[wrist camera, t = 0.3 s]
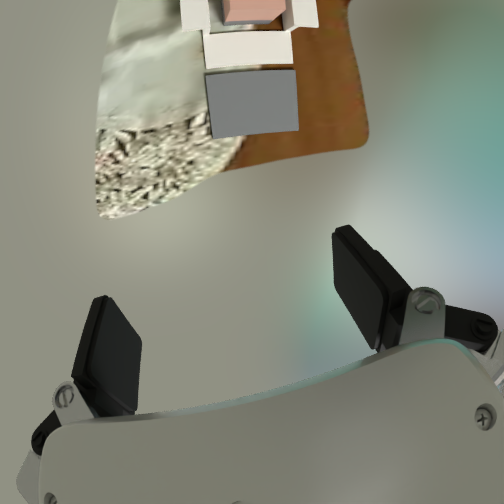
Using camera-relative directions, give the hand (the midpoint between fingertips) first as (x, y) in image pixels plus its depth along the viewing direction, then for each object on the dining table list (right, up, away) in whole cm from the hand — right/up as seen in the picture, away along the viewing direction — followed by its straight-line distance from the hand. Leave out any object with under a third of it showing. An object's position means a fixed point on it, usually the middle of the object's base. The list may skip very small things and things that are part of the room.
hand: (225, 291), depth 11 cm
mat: (+1, +22, +22) cm, 31 cm away
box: (0, +33, +15) cm, 36 cm away
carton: (0, +33, +15) cm, 36 cm away
